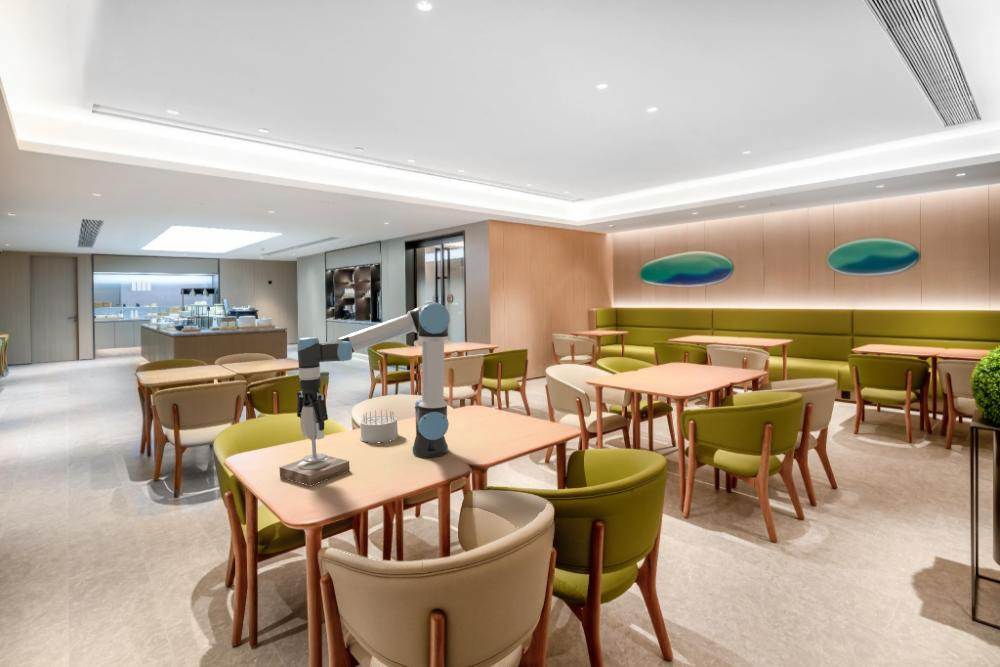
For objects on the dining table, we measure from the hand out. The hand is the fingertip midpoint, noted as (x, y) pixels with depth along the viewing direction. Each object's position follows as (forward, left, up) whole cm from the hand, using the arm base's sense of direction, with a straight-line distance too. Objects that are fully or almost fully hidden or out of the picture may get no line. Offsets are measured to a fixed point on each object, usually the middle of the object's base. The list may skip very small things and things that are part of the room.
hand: (313, 436), depth 193 cm
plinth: (0, 0, -15) cm, 15 cm away
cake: (+14, -47, -15) cm, 51 cm away
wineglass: (0, 0, -9) cm, 9 cm away
